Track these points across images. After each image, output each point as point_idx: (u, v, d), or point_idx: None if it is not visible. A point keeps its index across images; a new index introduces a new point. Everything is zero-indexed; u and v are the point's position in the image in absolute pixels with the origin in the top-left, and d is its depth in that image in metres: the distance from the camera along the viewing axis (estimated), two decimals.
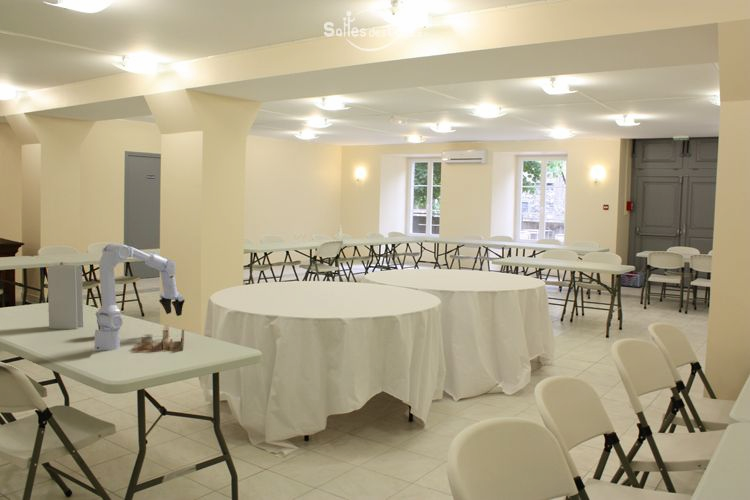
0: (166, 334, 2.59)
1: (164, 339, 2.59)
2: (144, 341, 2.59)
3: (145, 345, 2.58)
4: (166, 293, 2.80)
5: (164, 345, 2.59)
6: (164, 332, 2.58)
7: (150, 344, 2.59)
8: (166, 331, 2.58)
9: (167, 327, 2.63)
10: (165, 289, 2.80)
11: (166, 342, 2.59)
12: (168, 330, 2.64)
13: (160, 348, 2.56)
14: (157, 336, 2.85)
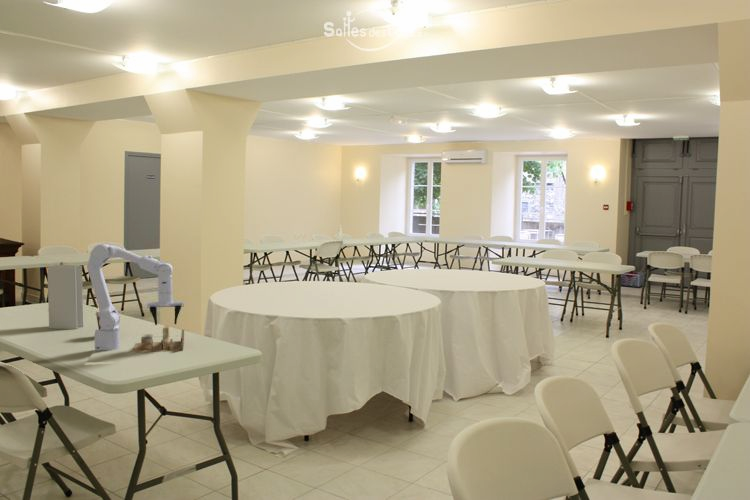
0: (166, 334, 2.59)
1: (164, 339, 2.59)
2: (144, 341, 2.59)
3: (145, 345, 2.58)
4: None
5: (164, 345, 2.59)
6: (164, 332, 2.58)
7: (150, 344, 2.59)
8: (166, 331, 2.58)
9: (167, 327, 2.63)
10: None
11: (166, 342, 2.59)
12: (168, 330, 2.64)
13: (160, 348, 2.56)
14: (157, 336, 2.85)
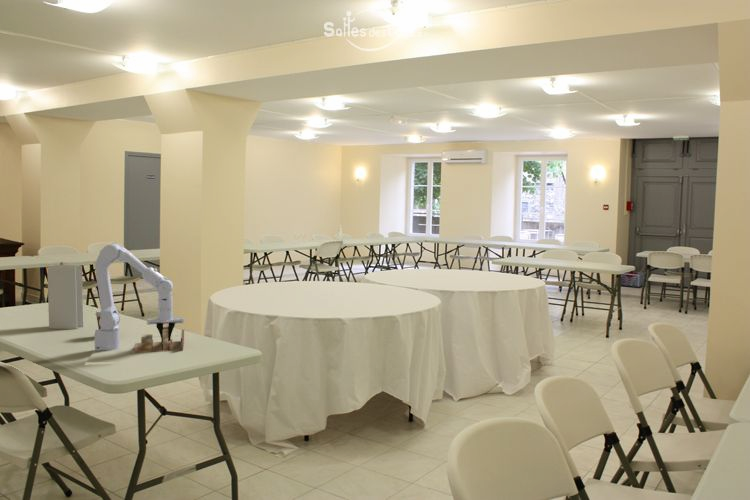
0: (166, 334, 2.59)
1: (164, 339, 2.59)
2: (144, 341, 2.59)
3: (145, 345, 2.58)
4: None
5: (164, 345, 2.59)
6: (164, 332, 2.58)
7: (150, 344, 2.59)
8: (166, 331, 2.58)
9: (167, 327, 2.63)
10: None
11: (166, 342, 2.59)
12: (168, 330, 2.64)
13: (160, 348, 2.56)
14: (157, 336, 2.85)
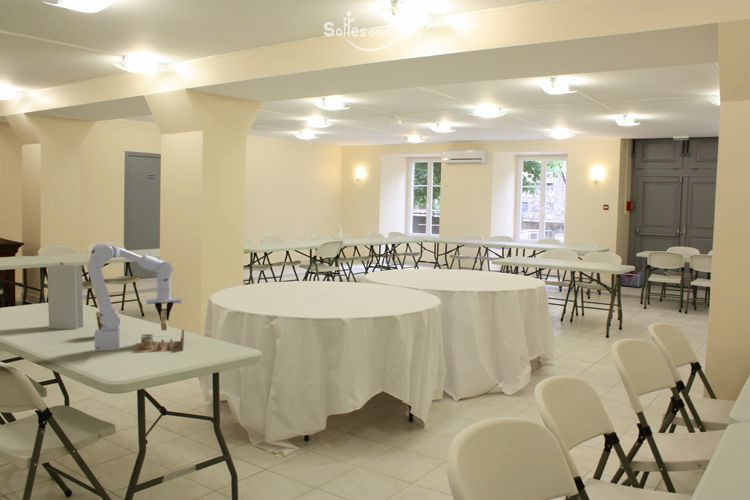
0: (164, 316, 2.66)
1: (162, 320, 2.66)
2: (144, 341, 2.59)
3: (145, 345, 2.58)
4: None
5: (162, 326, 2.67)
6: (162, 314, 2.66)
7: (150, 344, 2.59)
8: (164, 313, 2.66)
9: (165, 309, 2.71)
10: None
11: (164, 323, 2.67)
12: None
13: (160, 348, 2.56)
14: (157, 336, 2.85)
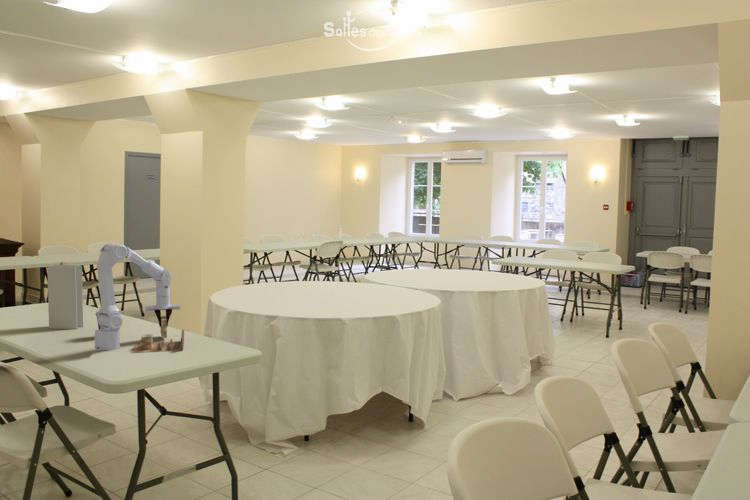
0: (165, 323, 2.74)
1: (163, 328, 2.74)
2: (144, 341, 2.59)
3: (145, 345, 2.58)
4: None
5: (163, 334, 2.74)
6: (163, 322, 2.74)
7: (150, 344, 2.59)
8: (165, 321, 2.74)
9: (164, 317, 2.79)
10: None
11: (165, 331, 2.75)
12: None
13: (160, 348, 2.56)
14: (157, 336, 2.85)
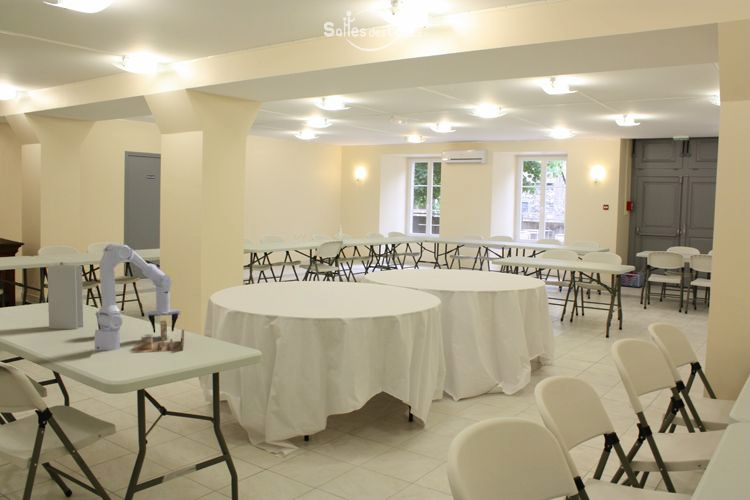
0: (165, 327, 2.75)
1: (163, 332, 2.74)
2: (144, 341, 2.59)
3: (145, 345, 2.58)
4: None
5: (163, 338, 2.75)
6: (163, 325, 2.74)
7: (150, 344, 2.59)
8: (165, 324, 2.75)
9: (164, 321, 2.79)
10: None
11: (165, 335, 2.75)
12: None
13: (160, 348, 2.56)
14: (157, 336, 2.85)
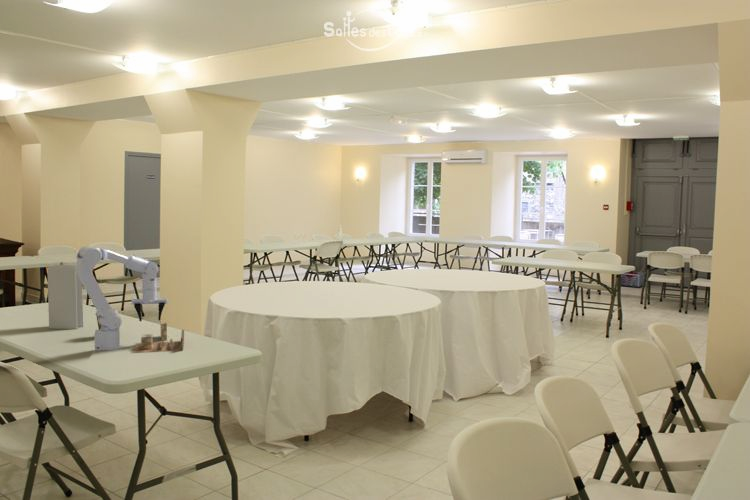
0: (165, 327, 2.75)
1: (163, 332, 2.74)
2: (144, 341, 2.59)
3: (145, 345, 2.58)
4: None
5: (163, 338, 2.75)
6: (163, 325, 2.74)
7: (150, 344, 2.59)
8: (165, 324, 2.75)
9: (164, 321, 2.79)
10: None
11: (165, 335, 2.75)
12: None
13: (160, 348, 2.56)
14: (157, 336, 2.85)
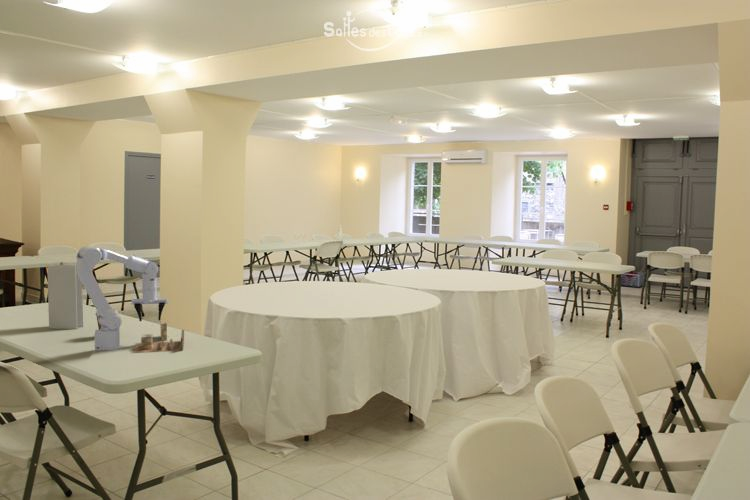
0: (165, 327, 2.75)
1: (163, 332, 2.74)
2: (144, 341, 2.59)
3: (145, 345, 2.58)
4: None
5: (163, 338, 2.75)
6: (163, 325, 2.74)
7: (150, 344, 2.59)
8: (165, 324, 2.75)
9: (164, 321, 2.79)
10: None
11: (165, 335, 2.75)
12: None
13: (160, 348, 2.56)
14: (157, 336, 2.85)
